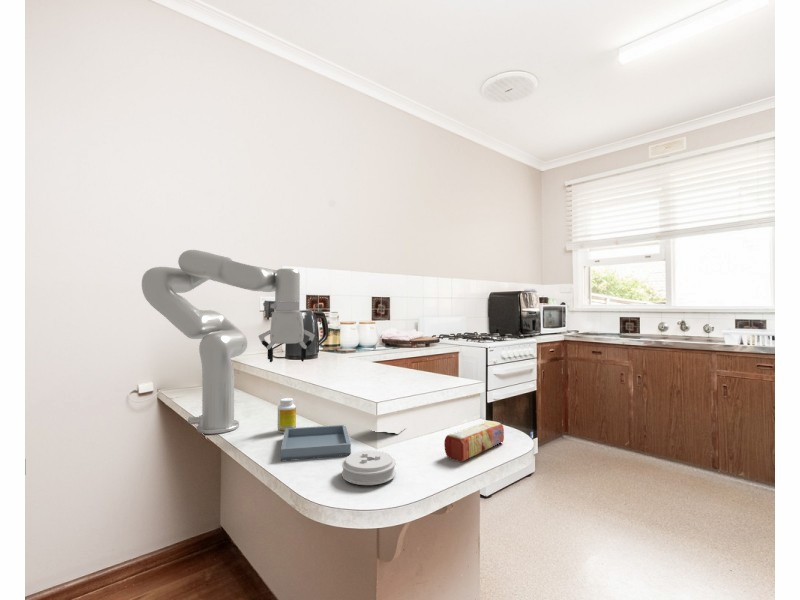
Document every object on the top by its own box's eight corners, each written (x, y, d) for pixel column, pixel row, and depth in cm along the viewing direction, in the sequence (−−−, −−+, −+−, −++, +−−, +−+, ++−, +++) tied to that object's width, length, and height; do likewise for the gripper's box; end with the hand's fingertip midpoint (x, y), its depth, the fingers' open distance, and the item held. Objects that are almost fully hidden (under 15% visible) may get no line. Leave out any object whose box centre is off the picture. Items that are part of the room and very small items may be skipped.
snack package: (486, 439, 123) (486, 416, 123) (506, 444, 118) (506, 421, 118) (442, 458, 108) (442, 432, 108) (463, 465, 103) (463, 438, 103)
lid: (406, 480, 94) (406, 458, 94) (357, 494, 87) (357, 471, 87) (378, 462, 105) (378, 443, 105) (333, 473, 98) (333, 452, 98)
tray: (280, 461, 105) (280, 449, 105) (285, 438, 123) (285, 428, 123) (350, 455, 109) (350, 444, 109) (345, 434, 127) (345, 424, 127)
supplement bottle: (298, 431, 129) (298, 399, 129) (282, 435, 126) (282, 402, 126) (291, 427, 134) (291, 396, 134) (274, 431, 130) (274, 398, 130)
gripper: (257, 307, 124) (256, 363, 124) (315, 307, 128) (314, 362, 128) (260, 307, 132) (260, 360, 132) (315, 307, 135) (314, 359, 135)
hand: (287, 361), depth 130 cm, fingers open, 9 cm apart
